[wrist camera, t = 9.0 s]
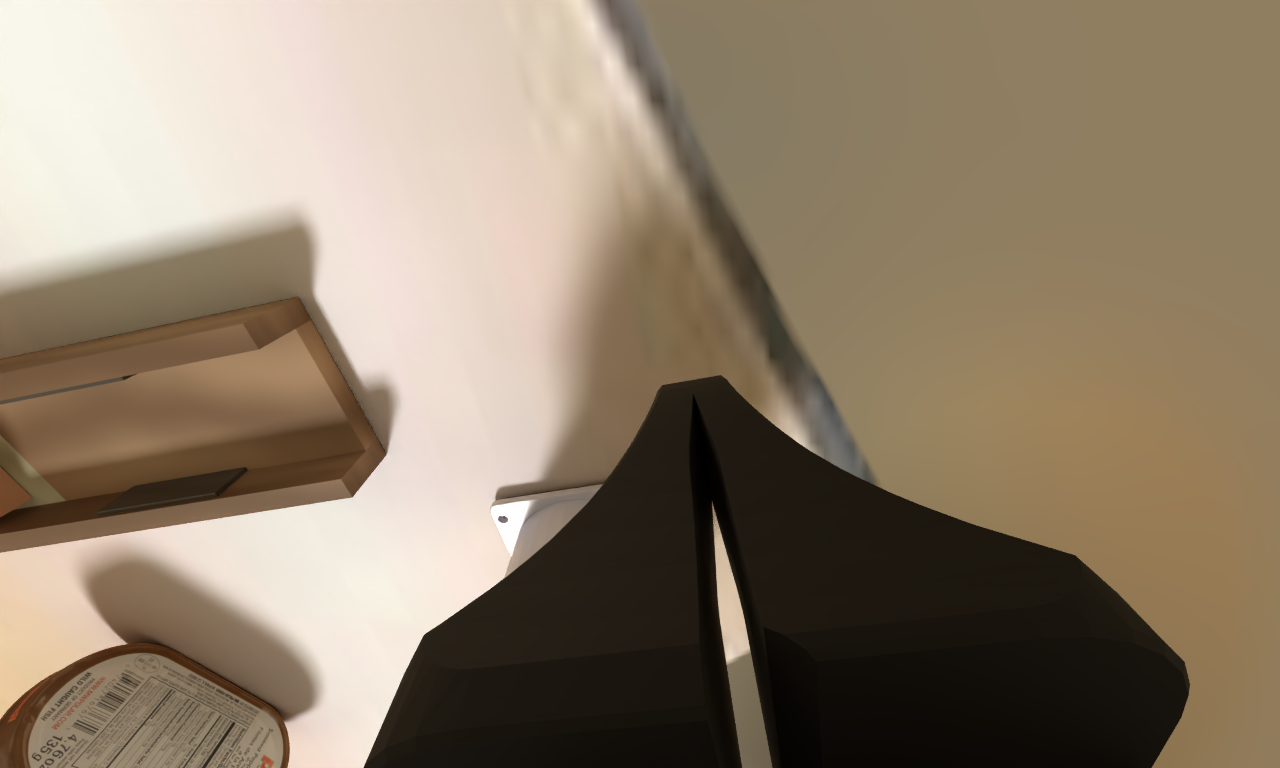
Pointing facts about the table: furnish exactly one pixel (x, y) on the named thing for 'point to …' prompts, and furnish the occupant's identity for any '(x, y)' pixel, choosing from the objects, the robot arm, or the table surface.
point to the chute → (179, 427)
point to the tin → (140, 717)
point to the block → (10, 494)
